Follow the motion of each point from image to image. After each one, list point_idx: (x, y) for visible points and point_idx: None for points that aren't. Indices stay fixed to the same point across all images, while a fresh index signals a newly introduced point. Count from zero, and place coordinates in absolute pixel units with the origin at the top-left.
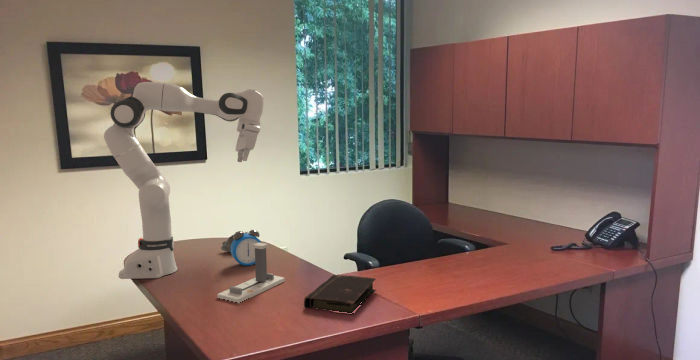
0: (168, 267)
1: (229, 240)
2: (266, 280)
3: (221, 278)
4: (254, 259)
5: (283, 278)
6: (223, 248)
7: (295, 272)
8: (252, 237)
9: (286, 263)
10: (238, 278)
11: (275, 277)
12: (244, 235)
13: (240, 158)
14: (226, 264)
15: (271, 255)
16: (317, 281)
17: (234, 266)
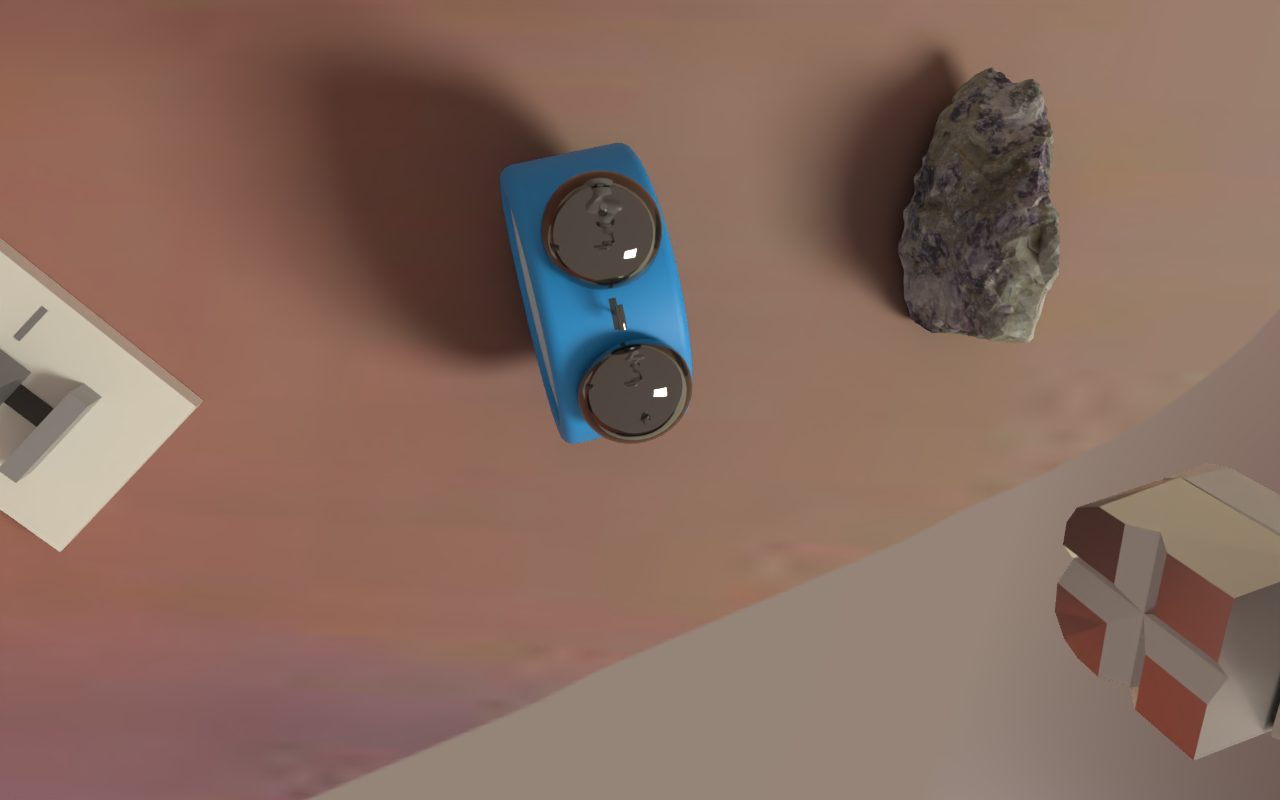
0: None
1: (1013, 144)
2: (6, 413)
3: (237, 55)
4: (541, 344)
5: (46, 541)
6: (969, 89)
7: (279, 628)
8: (552, 368)
9: (524, 576)
10: (211, 195)
11: (76, 484)
12: (596, 291)
13: (1196, 659)
14: (617, 108)
15: (766, 476)
16: (30, 764)
17: None
